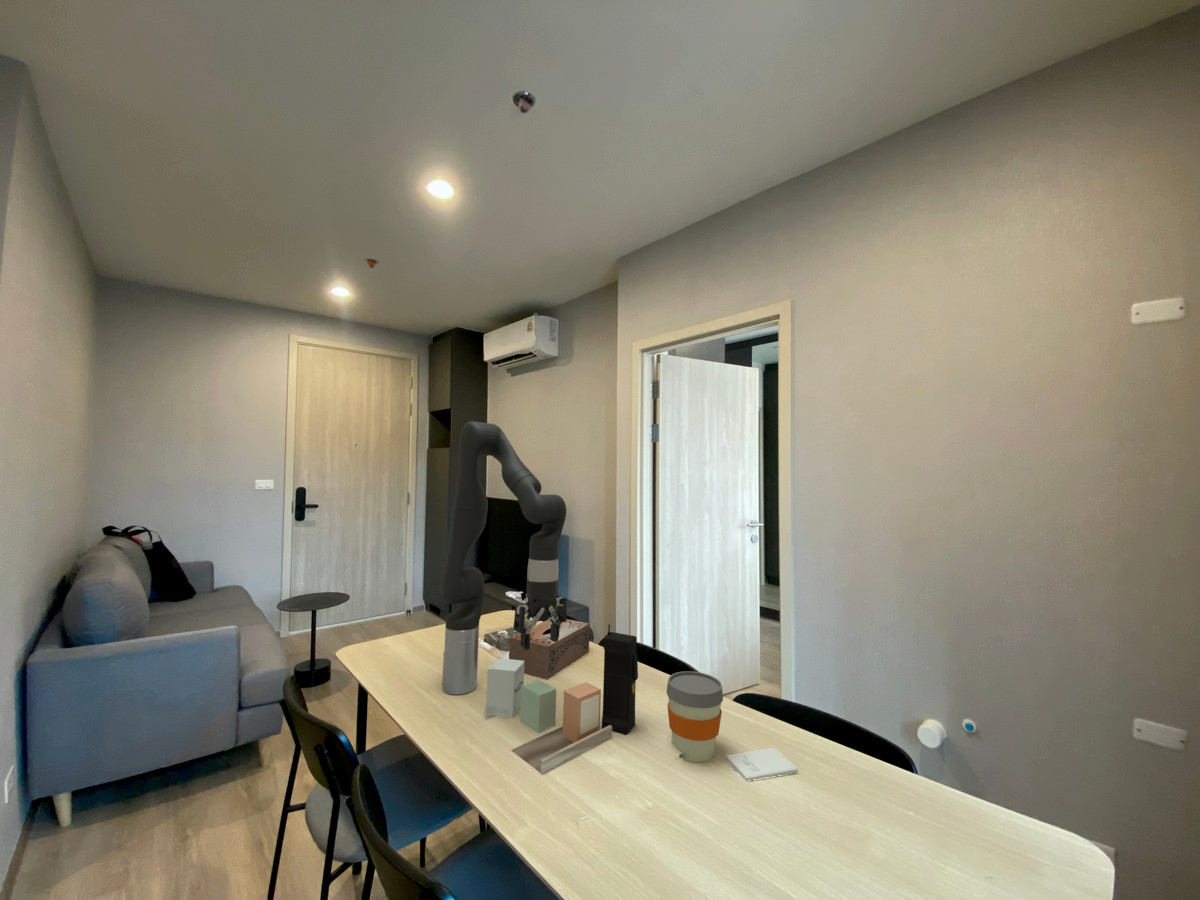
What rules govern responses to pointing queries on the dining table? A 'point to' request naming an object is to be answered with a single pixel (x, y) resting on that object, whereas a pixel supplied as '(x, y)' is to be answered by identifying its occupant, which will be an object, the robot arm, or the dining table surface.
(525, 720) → the tea tin
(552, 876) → the dining table surface
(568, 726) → the terracotta tin
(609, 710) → the portable radio
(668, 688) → the reusable coffee cup
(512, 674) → the supplement box
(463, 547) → the robot arm
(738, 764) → the external hard drive
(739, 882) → the dining table surface
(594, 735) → the shallow tray
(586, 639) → the tissue box cover
